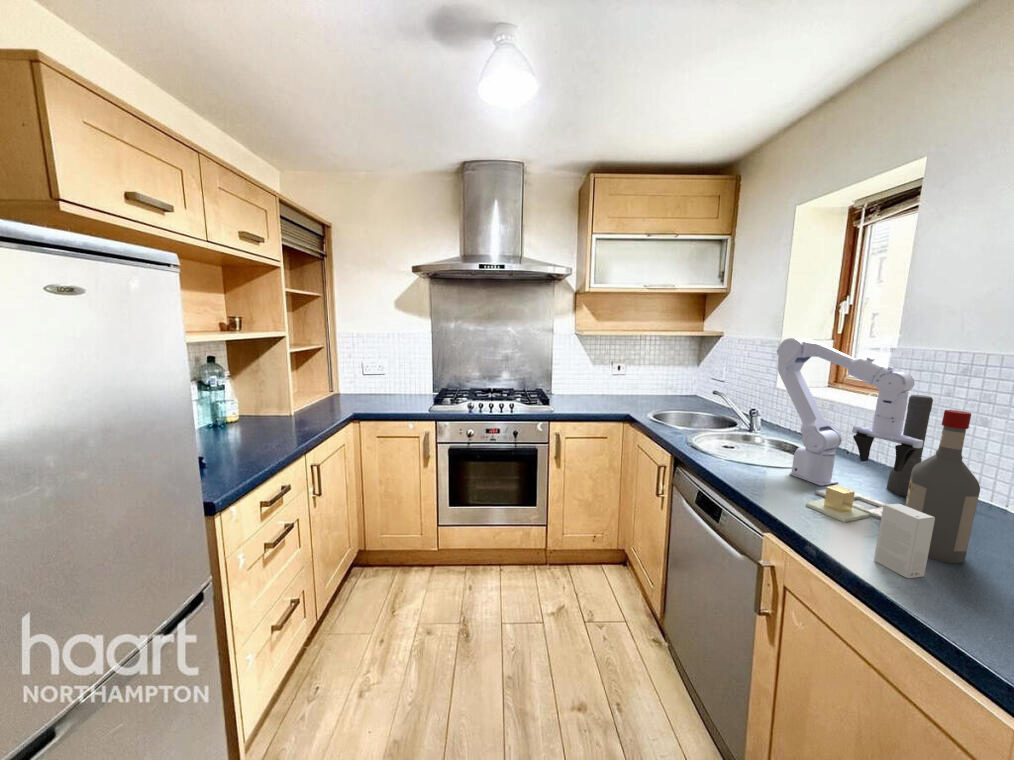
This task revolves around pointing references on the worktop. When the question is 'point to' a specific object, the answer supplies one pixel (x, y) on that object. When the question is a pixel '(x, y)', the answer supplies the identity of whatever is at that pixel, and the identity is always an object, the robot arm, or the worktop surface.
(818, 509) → the tile
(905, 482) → the flashlight
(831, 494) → the light wood cube
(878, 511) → the rail plate
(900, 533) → the skincare box
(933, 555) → the liquor
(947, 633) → the worktop surface
